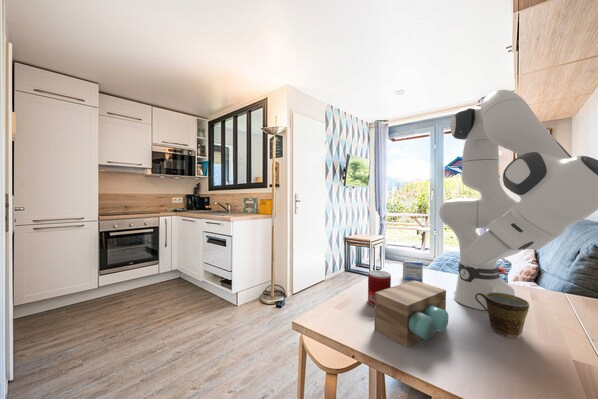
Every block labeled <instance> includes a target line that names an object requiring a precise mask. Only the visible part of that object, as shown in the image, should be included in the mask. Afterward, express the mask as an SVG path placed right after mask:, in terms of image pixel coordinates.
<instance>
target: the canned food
mask: <svg viewBox="0 0 598 399" xmlns="http://www.w3.org/2000/svg"><path fill="white" fill-rule="evenodd" d="M391 280H392V276H391V273H389V272H387V271H384V270H370V271H368V275H367V300H368V303H369V304H370V305H372V306H374V305H375V292H378V291H381V290H384V289H388V288H391V287H392V285H391V284H392V282H391Z"/></svg>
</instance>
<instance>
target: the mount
mask: <svg viewBox="0 0 598 399" xmlns="http://www.w3.org/2000/svg"><path fill="white" fill-rule="evenodd" d="M446 301H447V289H443V288H440V287H437V286H435V285H431V284H427V283H424V282H422V281H415V280H413V281H412V280H409V281H407V282H404V283H401V284H398V285H395V286H391V288H388V289H384V290H381V291H378V292H375V306H374V330H375V331H378V332H379V333H382V334H383V335H385V336H386V337H388V338H390V339H391V340H394V341H395V342H397V343H399V344H401V345H403V346H404V347H406V348H407V347H409V346H411V345H412V344H415V343H416V342H419V341H420V340H421V339H424V340H427V341H428V340H431V338H432V337H433V336H434V333H435V332H437V330H436V329H435V320H434V319H433V318H432V317H430V316H427V315H425V314H424V309H425V308H427V306H429V305H432V306H435V307H437V308H440V309H443V310H445V311H447V310H446V303H447V302H446Z"/></svg>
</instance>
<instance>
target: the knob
mask: <svg viewBox="0 0 598 399" xmlns="http://www.w3.org/2000/svg"><path fill="white" fill-rule="evenodd" d="M424 314H425V315H427V316H430V317H432V318H433V319H434V320H435V329H436V331H439V332H441V333H442V332H444V331H446V329H447V327H448V324H449V318H450V317H449V314H448V311H447V310H446V311H445V310H443V309H440V308H437V307H435V306H432V305H429V306H427V308H425V309H424Z"/></svg>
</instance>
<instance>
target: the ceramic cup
mask: <svg viewBox="0 0 598 399" xmlns="http://www.w3.org/2000/svg"><path fill="white" fill-rule="evenodd" d="M477 295H481V296H482V297H483V298H484V299H485V300H486V304H487V309H488V310H487V309H486V308H485V306H484V305H483V304H482V303H481V302H480V301H479V300H478V299H477ZM475 298H476V300H477V301H478V302H479V303H480V304H481V305H482V306H483V308H484V309H485V310H484V311H486V312H487V314H488V319H489V326H490V329H491V330H492V331H493V332H494V333H495V334H497V335H500V336H501V337H505V338H507V339H516V340H517V339H519V338H520V337H521V336H522V333H523V329H524V325H525V321H526V318H527V316H528V312H529V309H530V308H529V307H530V303H529V301H528V300H526V299H524V298H521V297H519V296H516V295H515V296H513V295H509V294H505V293H497V292H490V293H486V294H485V295H484V294H482V293H477V294H476V295H475Z"/></svg>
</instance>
